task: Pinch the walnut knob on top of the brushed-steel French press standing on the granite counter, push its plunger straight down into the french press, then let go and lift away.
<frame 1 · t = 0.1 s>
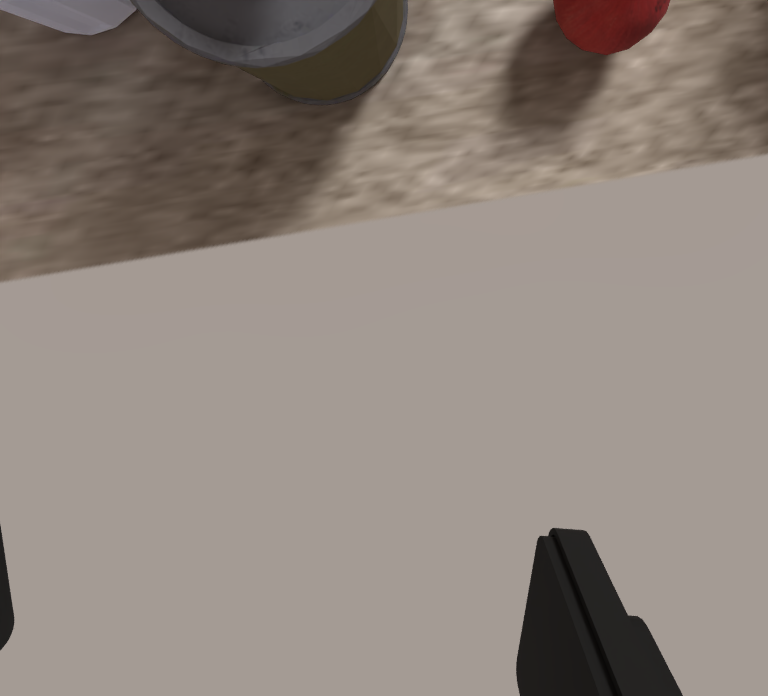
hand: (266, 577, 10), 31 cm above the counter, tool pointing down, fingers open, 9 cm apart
canister: (317, 7, 36), on the counter
onion: (590, 8, 35), on the counter
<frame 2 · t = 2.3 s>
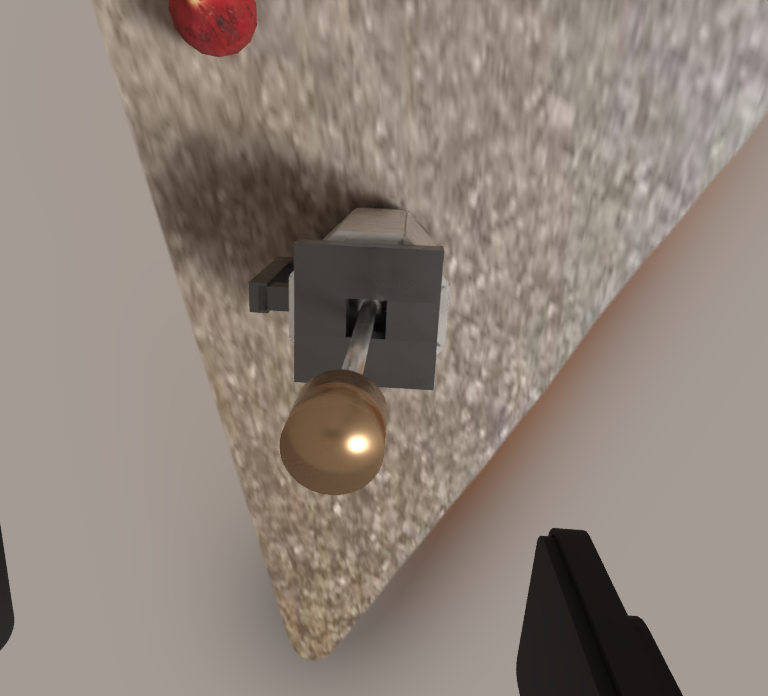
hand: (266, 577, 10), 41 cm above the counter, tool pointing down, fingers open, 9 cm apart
french press: (379, 267, 50), on the counter
plunger: (356, 354, 30), point 22 cm above the counter, slide at 0.0 cm
onion: (230, 20, 45), on the counter
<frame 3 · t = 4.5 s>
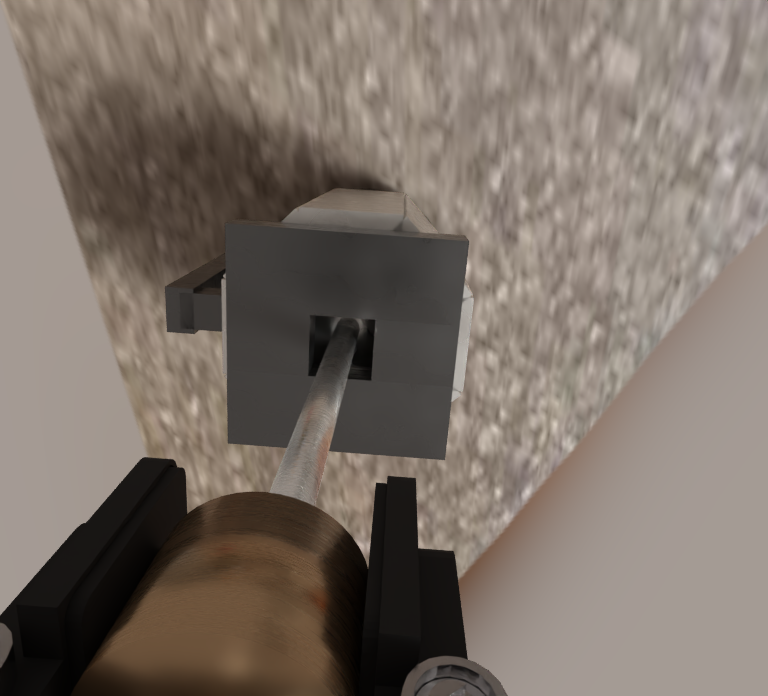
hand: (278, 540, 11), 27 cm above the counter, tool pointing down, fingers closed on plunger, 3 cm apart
french press: (366, 271, 37), on the counter
plunger: (318, 418, 17), point 22 cm above the counter, slide at 0.0 cm, touching gripper
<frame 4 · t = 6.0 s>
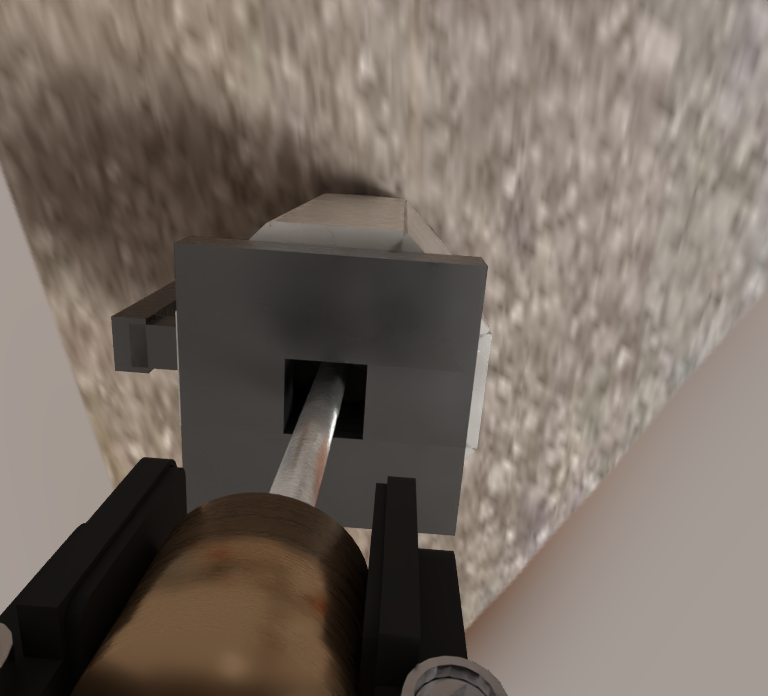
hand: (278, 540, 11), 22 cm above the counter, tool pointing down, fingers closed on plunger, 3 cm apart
french press: (361, 287, 33), on the counter
plunger: (318, 418, 17), point 17 cm above the counter, slide at 5.0 cm, touching gripper
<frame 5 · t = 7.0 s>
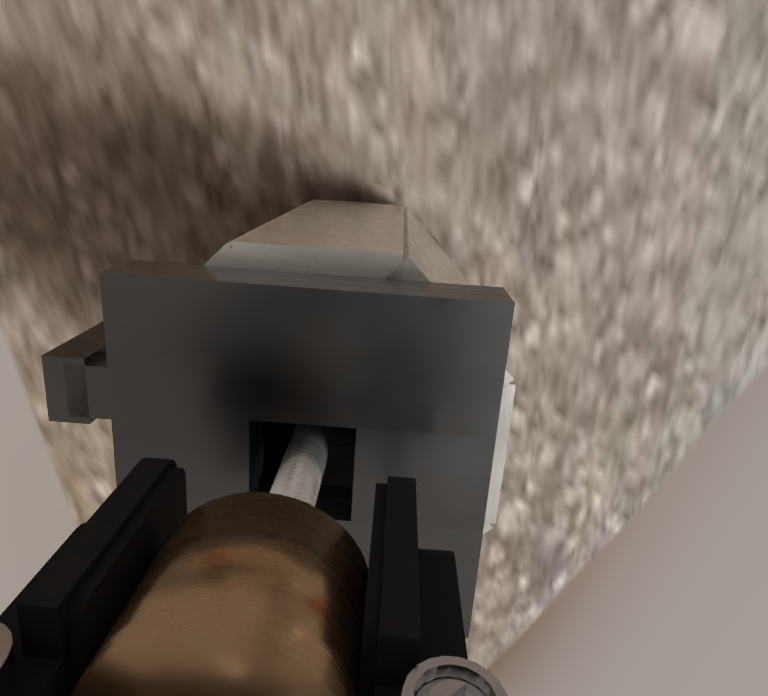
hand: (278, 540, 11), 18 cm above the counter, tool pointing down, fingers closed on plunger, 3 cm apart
french press: (354, 306, 29), on the counter
plunger: (318, 418, 17), point 13 cm above the counter, slide at 9.2 cm, touching gripper
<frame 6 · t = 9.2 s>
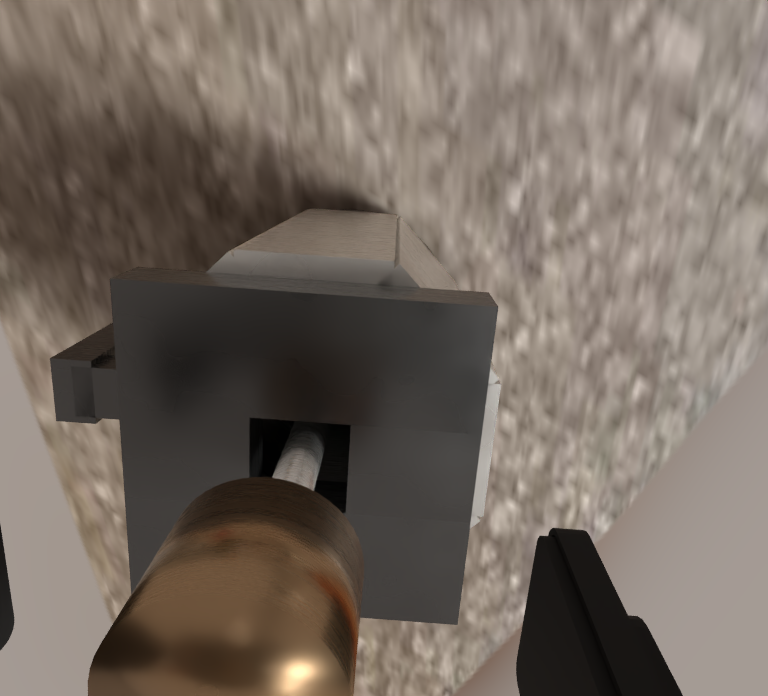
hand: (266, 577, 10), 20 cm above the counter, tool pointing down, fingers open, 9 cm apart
french press: (349, 312, 29), on the counter
plunger: (315, 415, 18), point 12 cm above the counter, slide at 9.3 cm
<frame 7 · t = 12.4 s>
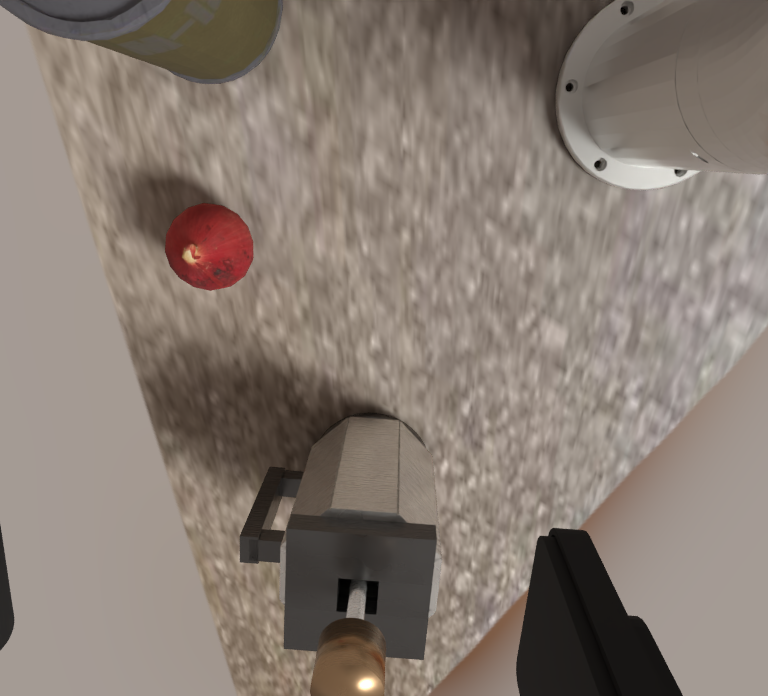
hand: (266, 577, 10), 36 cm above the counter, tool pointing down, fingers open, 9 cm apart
french press: (371, 466, 50), on the counter
plunger: (361, 563, 39), point 12 cm above the counter, slide at 9.3 cm
onion: (226, 239, 45), on the counter
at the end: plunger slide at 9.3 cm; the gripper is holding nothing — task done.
